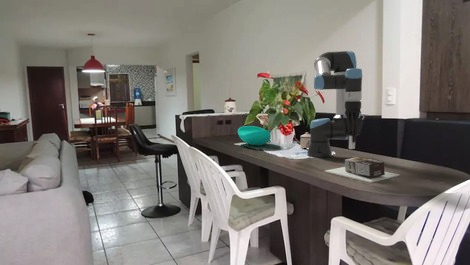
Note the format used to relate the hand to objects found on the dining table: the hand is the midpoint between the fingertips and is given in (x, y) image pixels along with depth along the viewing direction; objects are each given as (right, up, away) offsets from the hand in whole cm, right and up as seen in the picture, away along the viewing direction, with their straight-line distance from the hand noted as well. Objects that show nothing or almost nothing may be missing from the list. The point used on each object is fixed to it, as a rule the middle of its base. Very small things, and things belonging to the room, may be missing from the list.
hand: (351, 148), depth 163 cm
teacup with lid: (-5, -4, +76) cm, 76 cm away
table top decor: (-41, -2, +94) cm, 103 cm away
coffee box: (0, -8, +1) cm, 8 cm away
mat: (+3, -12, -3) cm, 13 cm away
